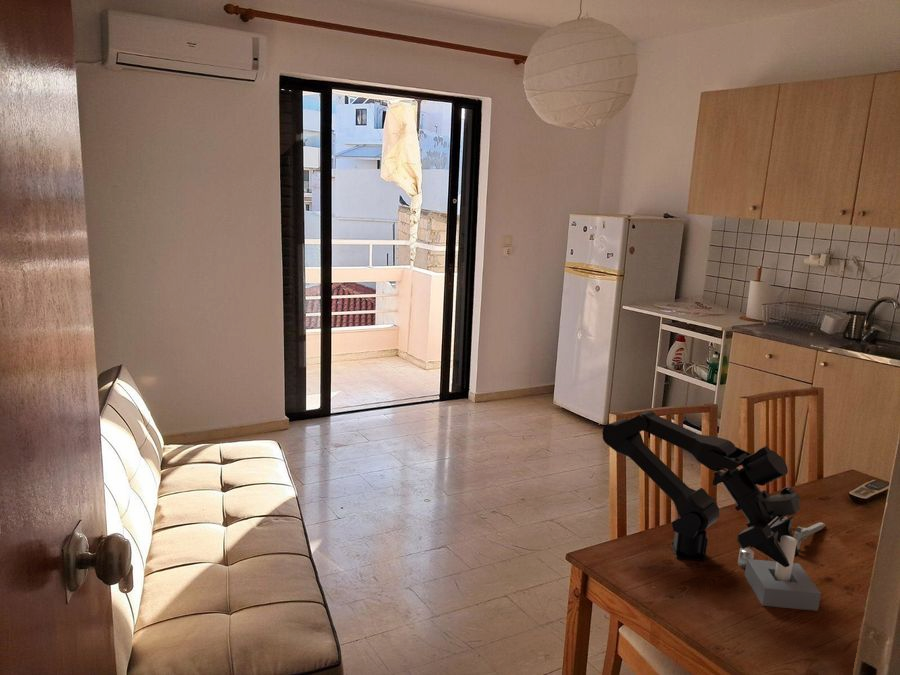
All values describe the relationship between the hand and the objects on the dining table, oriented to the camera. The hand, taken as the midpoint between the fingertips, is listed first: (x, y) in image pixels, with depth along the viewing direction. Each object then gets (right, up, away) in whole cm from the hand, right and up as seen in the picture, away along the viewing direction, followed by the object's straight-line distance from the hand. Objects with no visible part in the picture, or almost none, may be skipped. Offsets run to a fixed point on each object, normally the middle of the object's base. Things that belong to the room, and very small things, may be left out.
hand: (792, 561), depth 139 cm
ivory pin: (-1, -8, +3) cm, 8 cm away
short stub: (-4, -5, +13) cm, 15 cm away
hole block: (-1, -8, +3) cm, 8 cm away
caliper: (+17, -3, +26) cm, 31 cm away
